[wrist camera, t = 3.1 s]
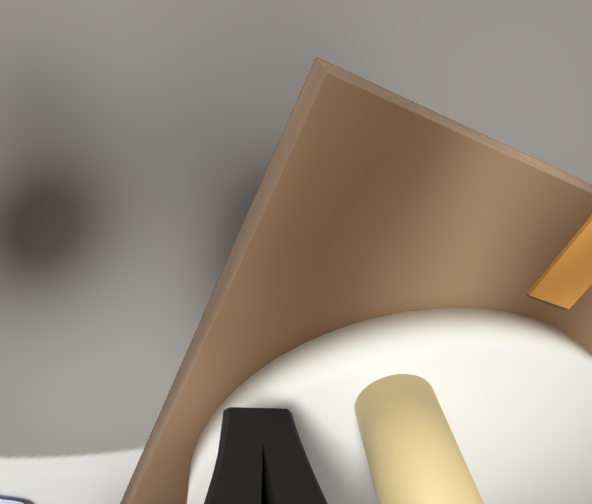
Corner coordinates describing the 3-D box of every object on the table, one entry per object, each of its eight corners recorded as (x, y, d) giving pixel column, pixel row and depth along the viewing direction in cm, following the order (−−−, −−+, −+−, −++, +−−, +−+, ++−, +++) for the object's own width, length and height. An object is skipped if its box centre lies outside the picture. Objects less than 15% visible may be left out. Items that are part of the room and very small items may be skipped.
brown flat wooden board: (98, 554, 20) (88, 599, 19) (316, 56, 10) (328, 74, 9) (420, 586, 25) (431, 623, 23) (771, 267, 15) (824, 300, 14)
